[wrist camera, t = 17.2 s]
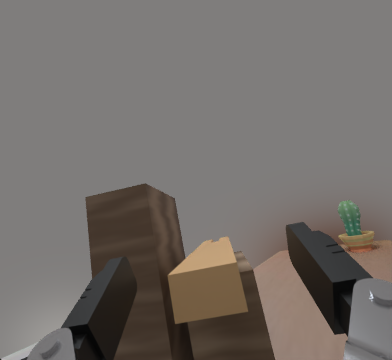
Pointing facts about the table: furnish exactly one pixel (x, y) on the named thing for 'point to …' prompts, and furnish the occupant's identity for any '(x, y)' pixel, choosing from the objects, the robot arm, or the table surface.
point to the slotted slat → (207, 283)
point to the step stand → (167, 283)
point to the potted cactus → (354, 228)
